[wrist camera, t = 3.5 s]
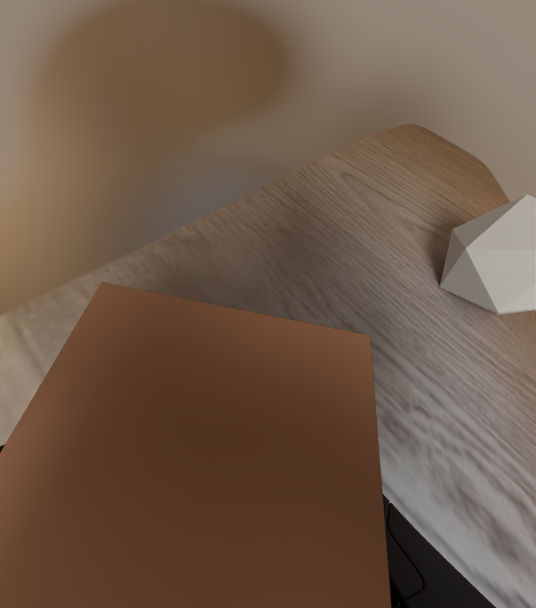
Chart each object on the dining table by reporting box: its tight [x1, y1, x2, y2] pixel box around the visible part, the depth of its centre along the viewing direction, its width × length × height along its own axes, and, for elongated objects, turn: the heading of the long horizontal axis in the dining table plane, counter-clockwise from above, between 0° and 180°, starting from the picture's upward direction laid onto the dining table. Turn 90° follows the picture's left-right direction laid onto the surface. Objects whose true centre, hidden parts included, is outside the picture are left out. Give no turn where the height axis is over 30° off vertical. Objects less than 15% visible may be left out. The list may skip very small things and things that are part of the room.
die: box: [440, 195, 536, 315], centre depth 20 cm, size 8×9×10 cm
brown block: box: [0, 282, 391, 608], centre depth 8 cm, size 5×5×12 cm
